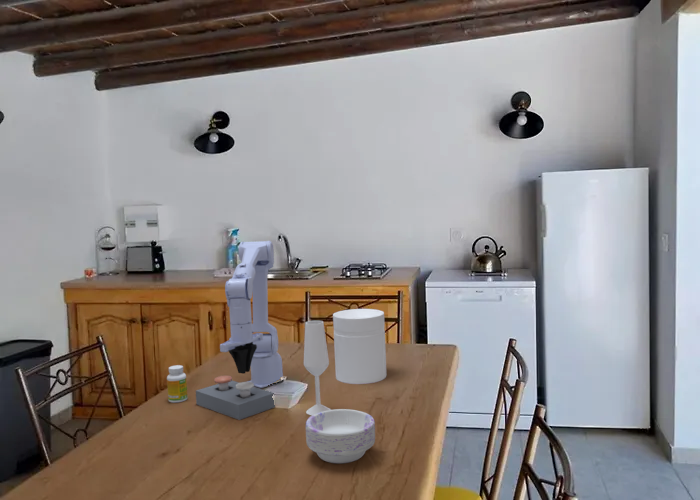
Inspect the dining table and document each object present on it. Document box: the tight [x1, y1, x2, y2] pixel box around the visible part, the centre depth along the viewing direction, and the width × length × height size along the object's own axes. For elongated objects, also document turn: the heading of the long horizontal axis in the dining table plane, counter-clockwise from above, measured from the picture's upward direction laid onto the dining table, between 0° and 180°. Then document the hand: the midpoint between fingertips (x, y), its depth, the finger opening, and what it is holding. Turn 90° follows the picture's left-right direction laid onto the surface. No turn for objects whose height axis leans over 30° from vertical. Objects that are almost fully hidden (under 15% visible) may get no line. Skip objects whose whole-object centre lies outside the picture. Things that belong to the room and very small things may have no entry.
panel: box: [195, 380, 276, 421], centre depth 171 cm, size 12×20×4 cm, turn 47°
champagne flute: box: [303, 320, 332, 416], centre depth 163 cm, size 7×7×24 cm
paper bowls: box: [305, 408, 376, 464], centre depth 135 cm, size 15×15×8 cm
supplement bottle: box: [166, 364, 188, 404], centre depth 178 cm, size 5×5×10 cm
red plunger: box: [213, 375, 233, 391], centre depth 174 cm, size 5×5×4 cm
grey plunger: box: [236, 381, 255, 398], centre depth 167 cm, size 5×5×4 cm
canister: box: [332, 308, 387, 385], centre depth 193 cm, size 16×16×20 cm
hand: (243, 372), depth 167 cm, fingers closed
